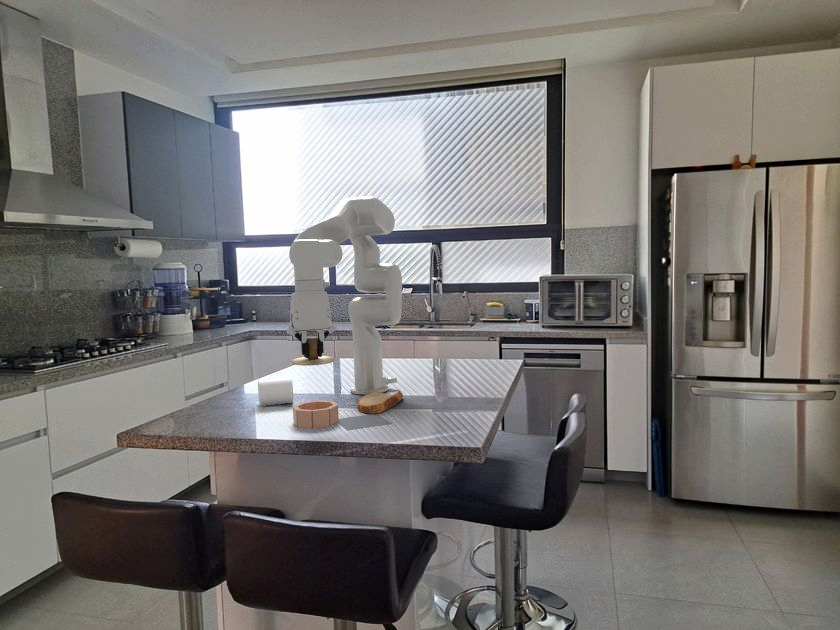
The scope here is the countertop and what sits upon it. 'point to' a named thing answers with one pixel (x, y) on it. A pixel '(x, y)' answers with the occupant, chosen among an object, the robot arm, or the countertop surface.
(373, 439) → the countertop surface
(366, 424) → the mat
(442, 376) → the countertop surface
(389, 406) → the bread slice
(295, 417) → the bowl
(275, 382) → the mug
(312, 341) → the lid
